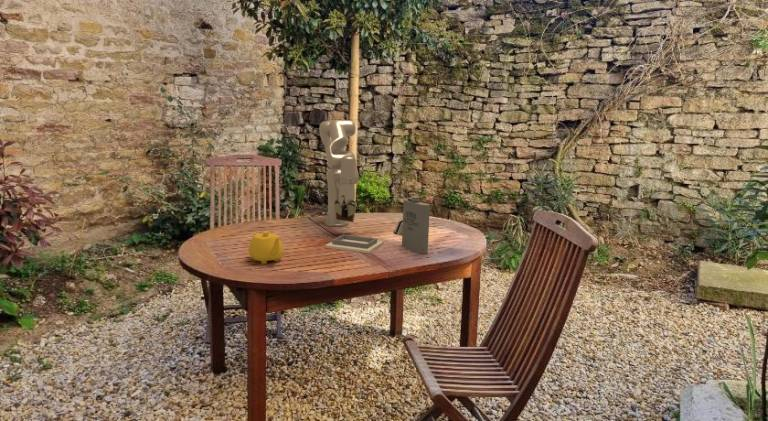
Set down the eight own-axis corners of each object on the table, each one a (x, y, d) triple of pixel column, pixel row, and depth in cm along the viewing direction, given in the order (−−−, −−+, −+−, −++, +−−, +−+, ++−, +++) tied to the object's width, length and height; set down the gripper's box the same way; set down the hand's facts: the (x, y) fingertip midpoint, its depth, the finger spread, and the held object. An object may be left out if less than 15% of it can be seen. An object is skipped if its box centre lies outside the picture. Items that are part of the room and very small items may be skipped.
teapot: (265, 269, 199) (265, 239, 196) (240, 258, 213) (240, 229, 211) (294, 263, 208) (294, 234, 206) (268, 252, 222) (268, 225, 220)
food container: (360, 219, 258) (361, 200, 255) (355, 222, 252) (356, 203, 250) (339, 216, 262) (339, 198, 260) (333, 219, 256) (333, 200, 254)
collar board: (325, 247, 233) (325, 240, 232) (342, 238, 249) (342, 232, 249) (368, 253, 225) (369, 246, 225) (383, 244, 242) (383, 237, 241)
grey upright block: (399, 245, 240) (400, 193, 235) (406, 244, 243) (408, 193, 238) (421, 254, 226) (423, 199, 221) (429, 253, 228) (431, 199, 224)
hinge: (416, 229, 274) (421, 213, 270) (422, 233, 271) (426, 218, 267) (392, 232, 265) (396, 216, 260) (397, 237, 262) (401, 221, 257)
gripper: (348, 177, 261) (347, 211, 265) (333, 182, 245) (332, 218, 249) (361, 179, 258) (360, 213, 262) (347, 184, 243) (346, 220, 247)
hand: (347, 215), depth 256 cm, fingers closed on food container, 5 cm apart
